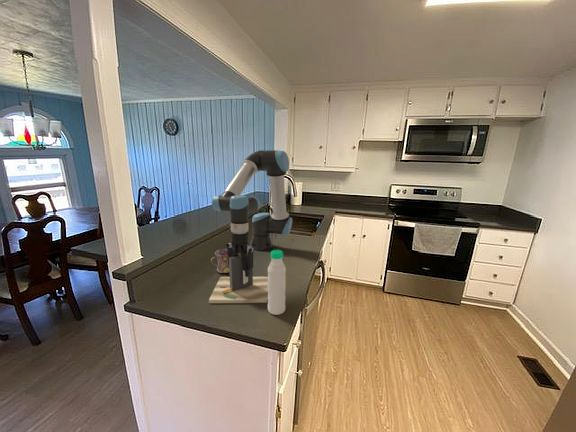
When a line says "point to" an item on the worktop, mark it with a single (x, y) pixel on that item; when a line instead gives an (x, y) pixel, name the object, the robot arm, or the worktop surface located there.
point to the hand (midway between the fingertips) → (240, 281)
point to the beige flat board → (241, 292)
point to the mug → (222, 261)
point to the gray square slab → (238, 274)
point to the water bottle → (276, 283)
